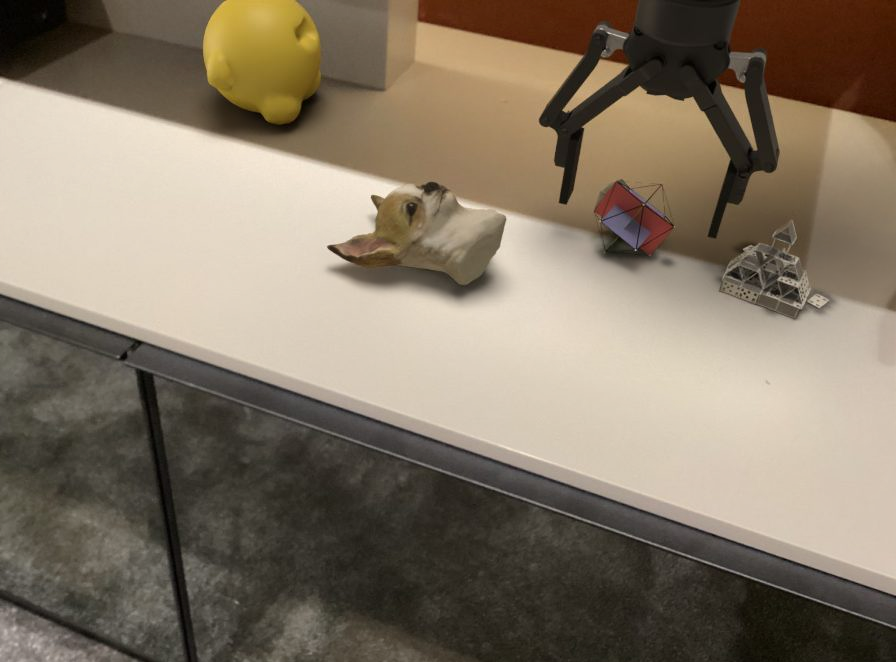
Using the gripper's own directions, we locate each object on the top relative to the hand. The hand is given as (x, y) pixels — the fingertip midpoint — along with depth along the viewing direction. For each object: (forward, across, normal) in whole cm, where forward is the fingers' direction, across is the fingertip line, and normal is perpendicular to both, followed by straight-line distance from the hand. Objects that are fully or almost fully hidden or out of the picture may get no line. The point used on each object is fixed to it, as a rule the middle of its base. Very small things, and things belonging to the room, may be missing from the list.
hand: (638, 213), depth 88 cm
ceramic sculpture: (+4, -17, -10) cm, 20 cm away
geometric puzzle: (+4, 0, 0) cm, 4 cm away
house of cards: (+4, +14, 0) cm, 14 cm away
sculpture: (+4, -43, +10) cm, 45 cm away
